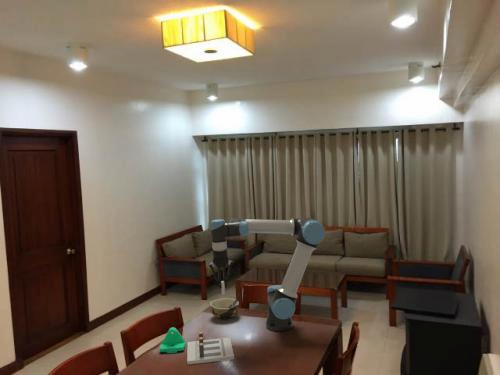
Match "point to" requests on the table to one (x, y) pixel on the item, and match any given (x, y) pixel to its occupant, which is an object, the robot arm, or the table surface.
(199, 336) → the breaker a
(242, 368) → the table surface
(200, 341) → the breaker
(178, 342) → the camera mount
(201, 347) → the breaker
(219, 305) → the bowl
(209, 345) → the panel
